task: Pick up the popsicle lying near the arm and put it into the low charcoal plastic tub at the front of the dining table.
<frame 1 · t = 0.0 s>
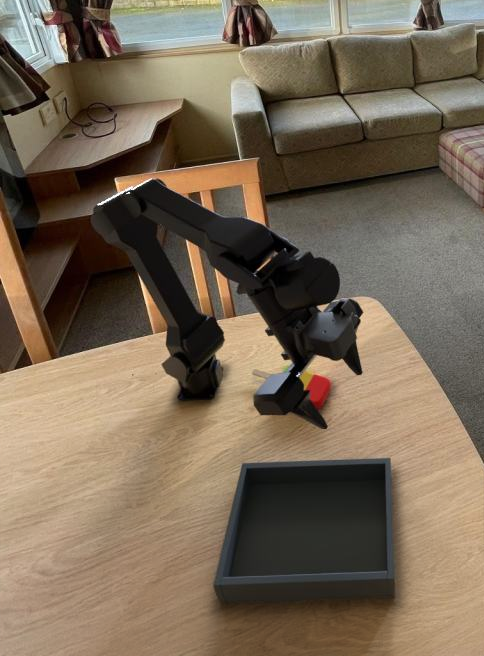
hand: (343, 399, 68), 15 cm above the table, tool tilted 35°, fingers open, 9 cm apart
popsicle: (289, 387, 87), on the table
tub: (313, 534, 66), on the table
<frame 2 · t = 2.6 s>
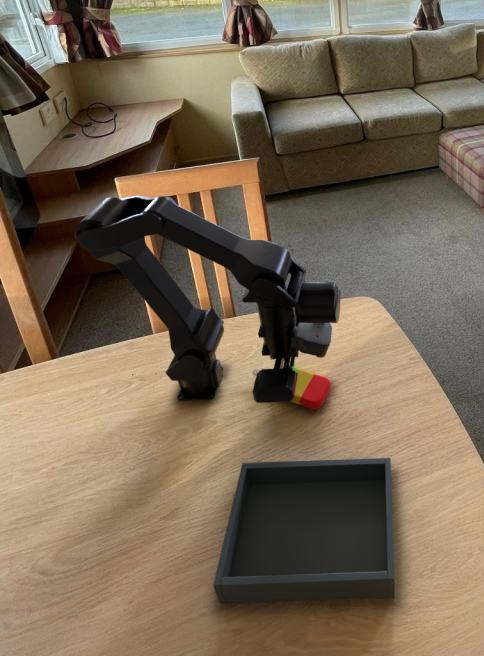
hand: (288, 381, 86), 1 cm above the table, tool pointing down, fingers closed on popsicle, 6 cm apart
popsicle: (289, 387, 87), on the table, touching gripper
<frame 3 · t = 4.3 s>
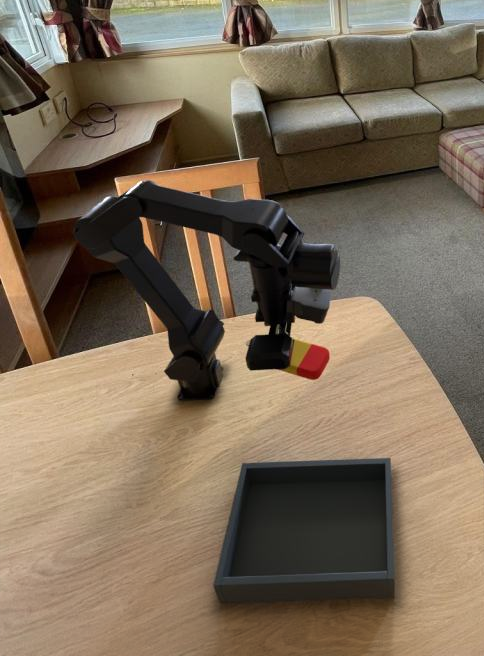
hand: (284, 352, 80), 10 cm above the table, tool pointing down, fingers closed on popsicle, 6 cm apart
popsicle: (285, 358, 81), point 9 cm above the table, touching gripper
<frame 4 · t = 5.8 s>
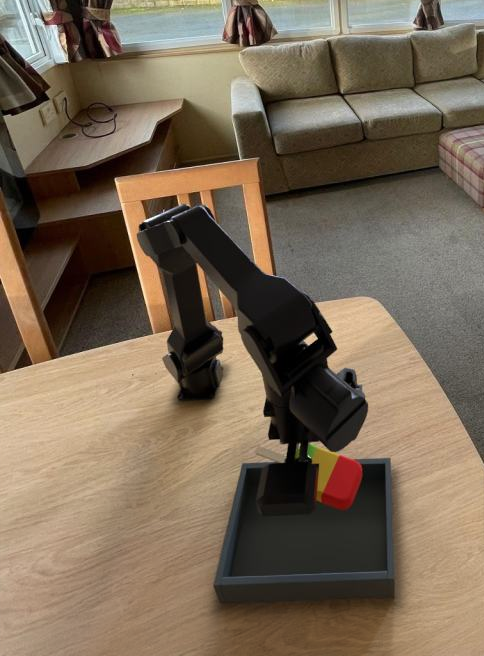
hand: (303, 467, 63), 11 cm above the table, tool pointing down, fingers closed on popsicle, 6 cm apart
popsicle: (305, 472, 64), point 10 cm above the table, touching gripper
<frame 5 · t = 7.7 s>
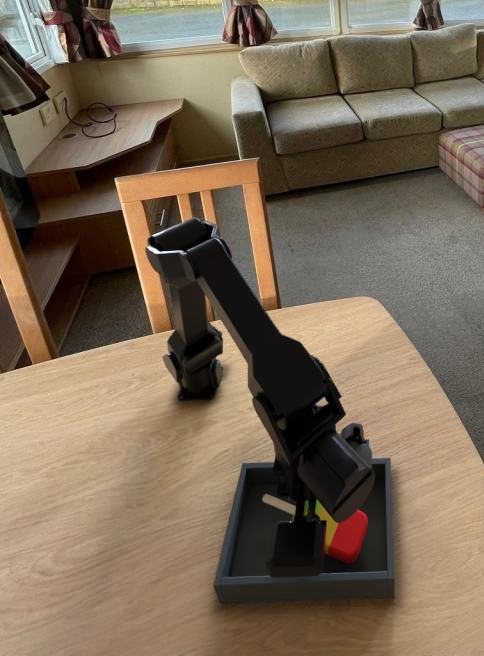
hand: (310, 517, 64), 4 cm above the table, tool pointing down, fingers closed on popsicle, 6 cm apart
popsicle: (312, 522, 65), point 3 cm above the table, touching gripper
when the fingers open (2 cm above the table, at t = 8.9 s): popsicle stays where it is, resting on tub.
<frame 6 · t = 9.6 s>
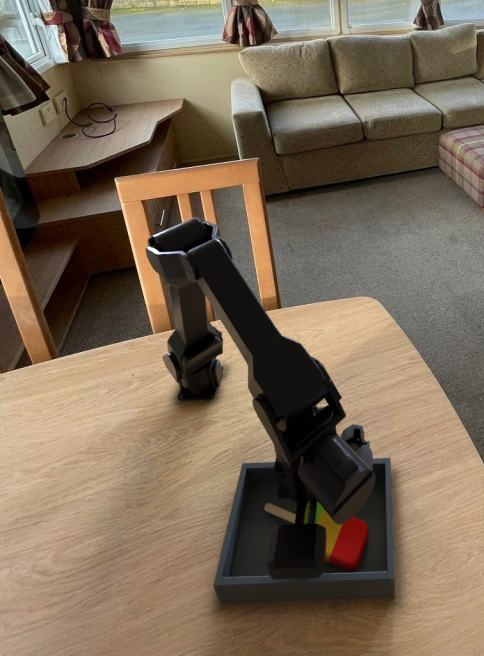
hand: (311, 519, 64), 4 cm above the table, tool pointing down, fingers open, 9 cm apart
popsicle: (313, 531, 66), resting on tub
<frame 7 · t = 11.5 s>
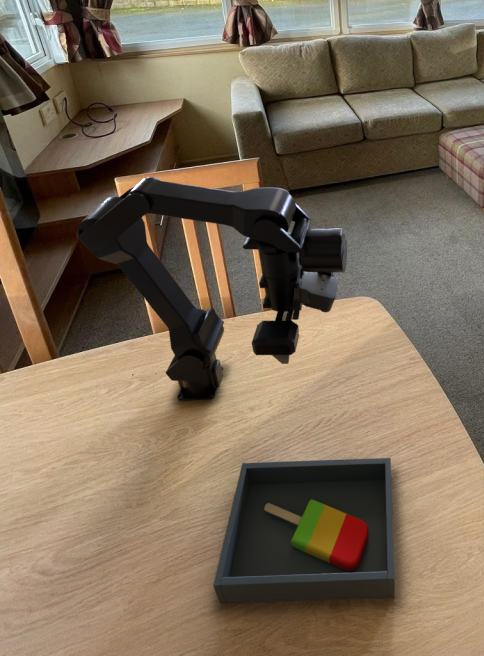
hand: (290, 340, 81), 12 cm above the table, tool pointing down, fingers open, 9 cm apart
nothing on the table moved.
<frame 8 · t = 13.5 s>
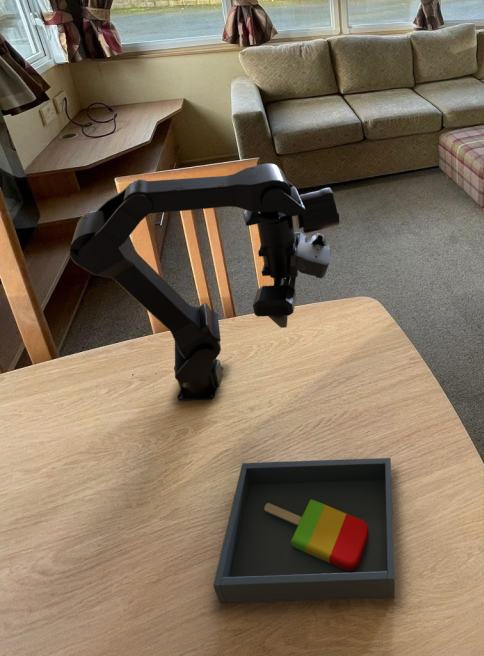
hand: (287, 307, 88), 12 cm above the table, tool pointing down, fingers open, 9 cm apart
nothing on the table moved.
at the end: popsicle inside the target area in the tub (0.2 cm from its centre), point 0.4 cm above the tub's base; the gripper is holding nothing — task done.
